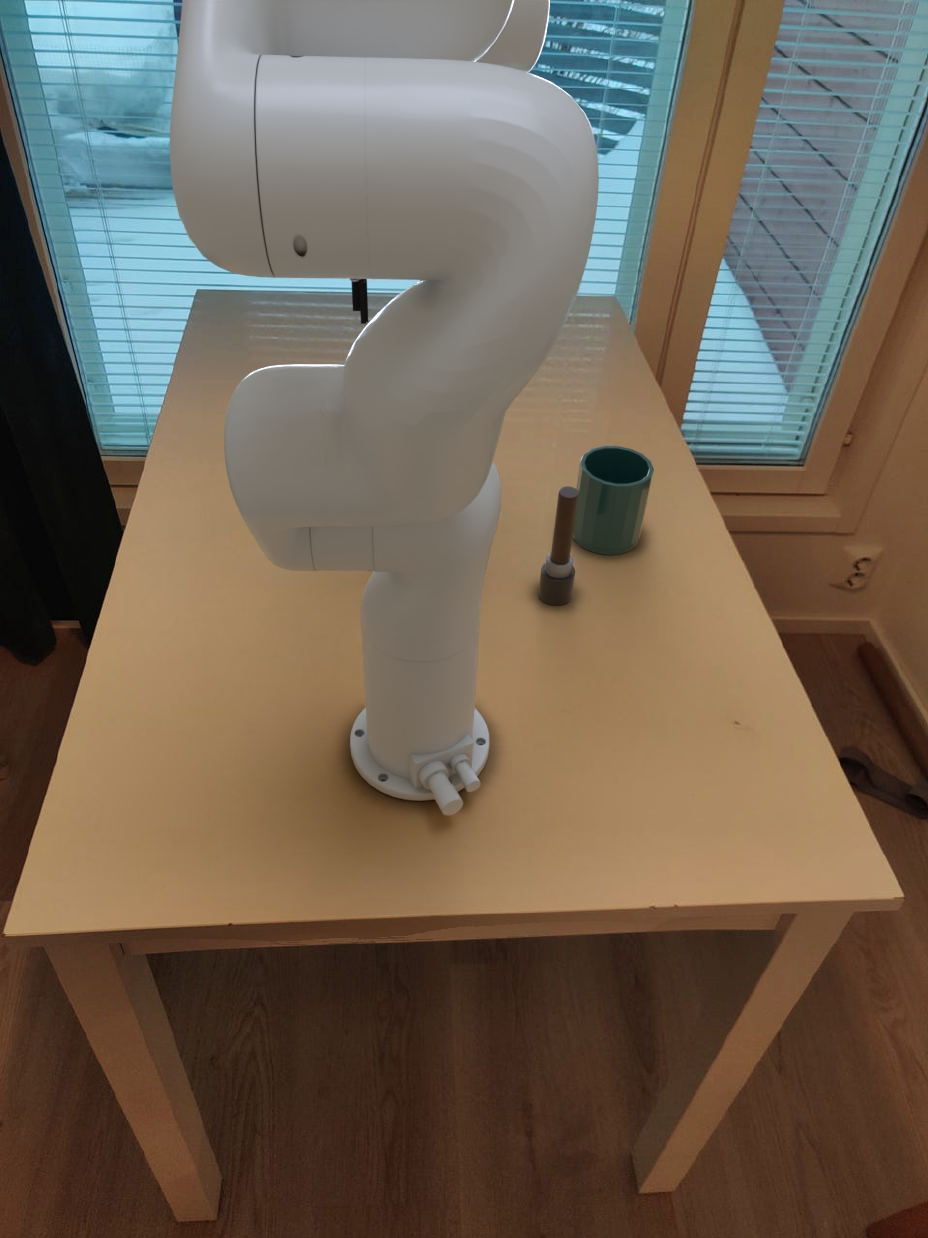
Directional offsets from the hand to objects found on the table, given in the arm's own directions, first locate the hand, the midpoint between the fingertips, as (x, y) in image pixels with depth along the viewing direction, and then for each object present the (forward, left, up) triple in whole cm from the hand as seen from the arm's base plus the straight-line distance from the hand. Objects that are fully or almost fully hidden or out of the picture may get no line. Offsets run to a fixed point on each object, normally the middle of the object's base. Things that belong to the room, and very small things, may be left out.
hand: (415, 317), depth 88 cm
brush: (-14, -10, -27) cm, 32 cm away
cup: (-7, -21, -27) cm, 35 cm away
